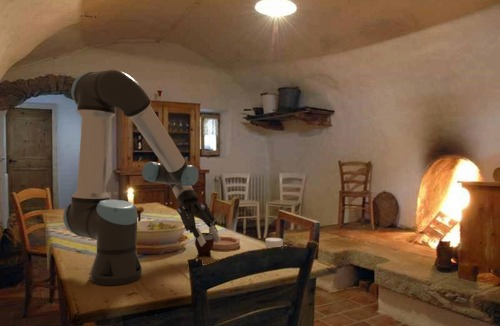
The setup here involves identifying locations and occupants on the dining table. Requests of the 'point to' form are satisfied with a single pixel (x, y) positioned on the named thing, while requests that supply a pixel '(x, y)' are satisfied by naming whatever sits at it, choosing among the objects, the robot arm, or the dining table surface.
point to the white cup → (273, 242)
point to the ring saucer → (226, 243)
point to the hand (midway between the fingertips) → (211, 242)
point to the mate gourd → (208, 245)
